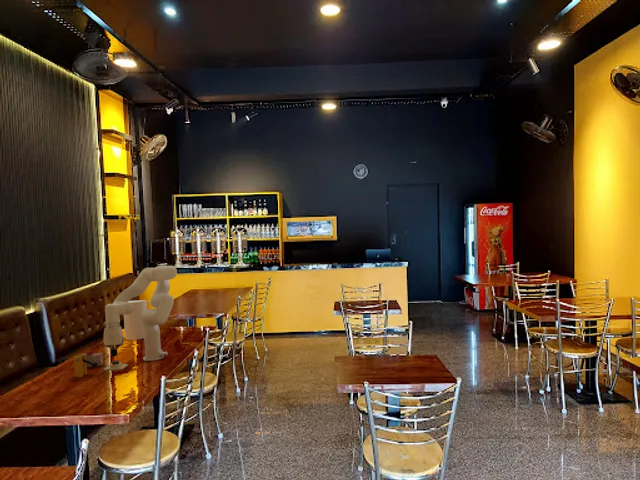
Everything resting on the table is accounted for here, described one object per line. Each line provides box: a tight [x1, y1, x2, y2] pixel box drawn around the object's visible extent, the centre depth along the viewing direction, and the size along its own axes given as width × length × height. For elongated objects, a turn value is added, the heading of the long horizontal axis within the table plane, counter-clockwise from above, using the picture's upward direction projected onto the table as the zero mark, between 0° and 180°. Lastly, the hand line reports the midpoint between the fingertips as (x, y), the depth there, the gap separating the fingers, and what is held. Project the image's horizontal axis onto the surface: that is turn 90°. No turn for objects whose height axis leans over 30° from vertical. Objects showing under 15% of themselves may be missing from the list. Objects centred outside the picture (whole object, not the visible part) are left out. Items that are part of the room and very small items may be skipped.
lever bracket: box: [73, 353, 88, 378], centre depth 281 cm, size 10×8×13 cm
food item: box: [84, 350, 104, 368], centre depth 302 cm, size 14×8×10 cm, turn 93°
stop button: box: [111, 359, 120, 365], centre depth 294 cm, size 4×4×2 cm
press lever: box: [78, 354, 99, 369], centre depth 281 cm, size 12×3×3 cm, turn 92°
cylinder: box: [123, 299, 148, 341], centre depth 381 cm, size 17×17×28 cm
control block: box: [103, 361, 129, 372], centre depth 294 cm, size 11×9×4 cm
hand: (114, 356), depth 293 cm, fingers closed
